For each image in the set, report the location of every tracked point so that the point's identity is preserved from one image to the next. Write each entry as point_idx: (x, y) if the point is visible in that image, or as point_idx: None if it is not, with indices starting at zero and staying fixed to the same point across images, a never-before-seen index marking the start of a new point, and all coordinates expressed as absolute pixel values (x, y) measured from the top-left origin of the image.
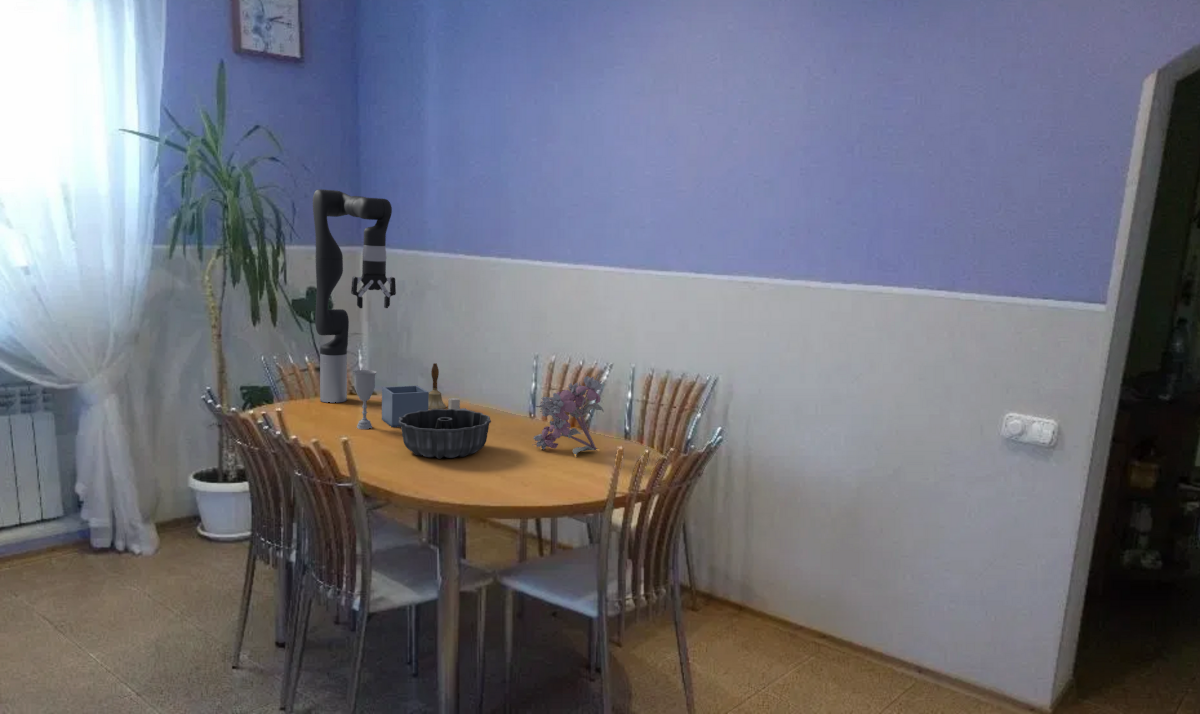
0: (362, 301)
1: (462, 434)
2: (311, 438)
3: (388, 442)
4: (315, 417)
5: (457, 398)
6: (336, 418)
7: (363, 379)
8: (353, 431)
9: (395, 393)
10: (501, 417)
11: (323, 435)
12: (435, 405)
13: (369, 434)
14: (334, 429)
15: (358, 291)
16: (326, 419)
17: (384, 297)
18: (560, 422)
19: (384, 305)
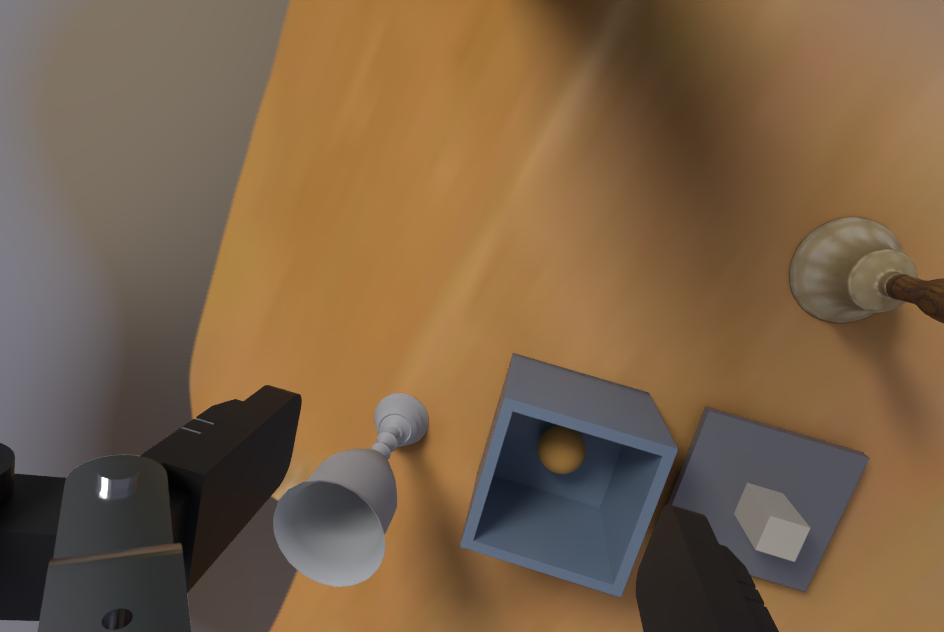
0: (230, 539)
1: None
2: None
3: (371, 612)
4: (323, 180)
5: (802, 540)
6: (382, 240)
7: (315, 546)
8: (345, 444)
9: (477, 545)
10: (924, 578)
11: None
12: (826, 309)
13: None
14: (305, 387)
15: (58, 527)
16: (344, 235)
17: (713, 627)
18: None
19: (670, 528)
